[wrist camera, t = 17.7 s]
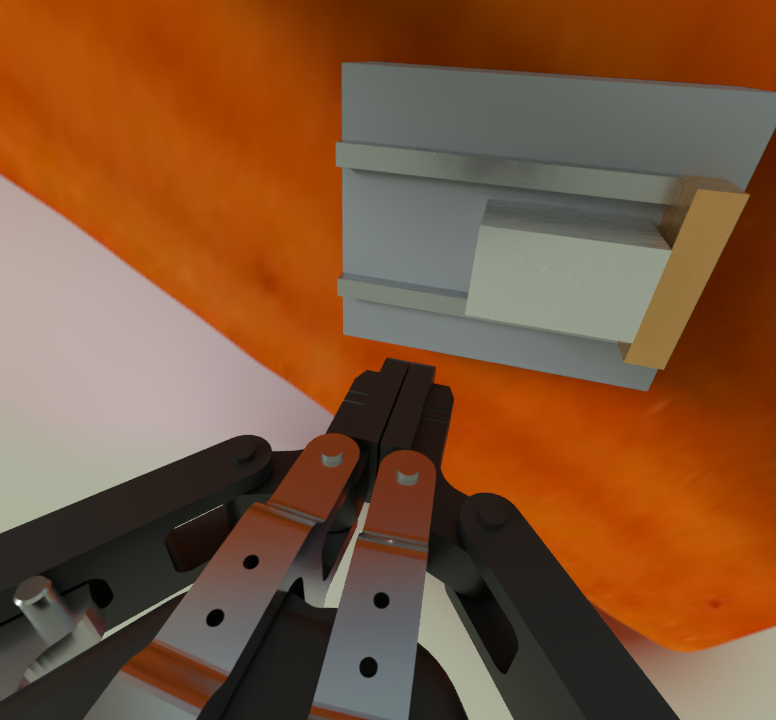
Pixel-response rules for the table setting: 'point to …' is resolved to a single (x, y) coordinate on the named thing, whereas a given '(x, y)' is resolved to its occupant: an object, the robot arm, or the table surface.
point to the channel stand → (532, 197)
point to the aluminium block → (565, 268)
